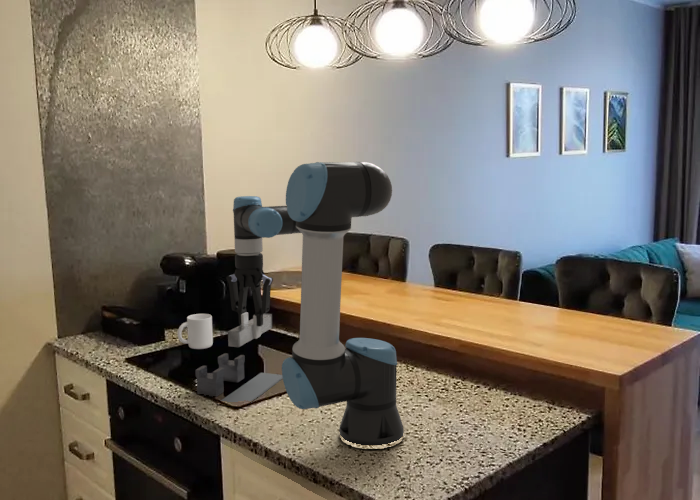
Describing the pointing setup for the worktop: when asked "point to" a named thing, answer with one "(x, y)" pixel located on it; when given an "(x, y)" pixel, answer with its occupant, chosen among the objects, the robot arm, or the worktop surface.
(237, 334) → the rail
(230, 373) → the post
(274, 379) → the mat
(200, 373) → the post
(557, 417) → the worktop surface
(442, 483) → the worktop surface
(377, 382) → the robot arm
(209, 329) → the mug
